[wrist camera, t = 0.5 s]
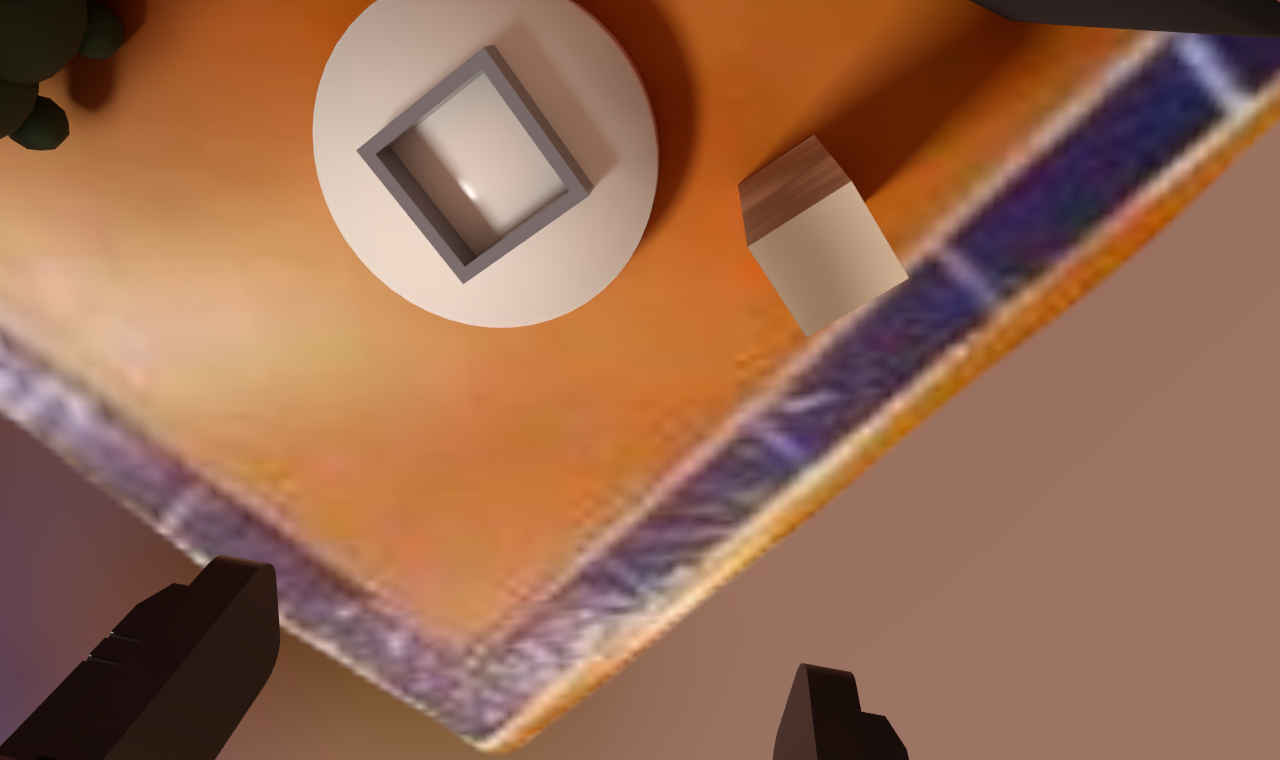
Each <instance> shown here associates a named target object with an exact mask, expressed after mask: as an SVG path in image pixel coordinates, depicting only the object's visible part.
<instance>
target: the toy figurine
mask: <svg viewBox="0 0 1280 760" xmlns="http://www.w3.org/2000/svg"><path fill="white" fill-rule="evenodd" d="M123 44H124V36H123V24H122V23H121V22H120V21H119V20H118V18H117V17H116V16H115V15H114V14H113V13H112V12H111V11H110V10H109V9H108V8H107V7H106V6H104V5H102V4H100V3H98V2H96V1H94V0H0V139H1V138H3V137H5V136H7V135H9V137H10V139H12V140H14V141H15V142H17V143H19V144H20V145H22V146H23V147H25V148H27V149H32V150H52V149H56V148H57V147H58V146H59V145H60V144H61V143H62V142H63V141H64V140H65V139H66V138H67V136H68V135H69V122H68V119H67V117H66V114H65V111H64V110H63V109H62V108H60V107H59V106H58V105H57V104H56V103H55V102H53V101H52V100H51V99H50V98H46V97H43V96H39V95H38V92H39V82H41V81H43V80H46V79H48V78H50V77H52V76H54V75H55V74H56V73H57V72H58V71H59V70H60V69H61V68H62V67H64V66H65V65H66V64H67V63H68V62H69V61H70V60H71V59H72V58H74V57H75V56H76V55H77V54H78V52H79V53H80V54H82V55H83V56H85V57H86V58H88V59H108V58H109V57H110V56H111V55H112V54H113V53H114V52H115V51H117V50H118V49H119V48H120V47H121V46H122V45H123Z"/></svg>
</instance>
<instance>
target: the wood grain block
mask: <svg viewBox="0 0 1280 760" xmlns="http://www.w3.org/2000/svg"><path fill="white" fill-rule="evenodd" d="M738 188H739V194H740V201H741V207H742V213H743V220H744V226H745V233H746V239H747V246H748V248H749V250H750V251H751V253H752V254H753V256H754V257H755V259H756V260H757V262H758V263H759V265H760V266H761V268H762V270H763V271H764V273H765V274H766V276H767V277H768V279H769V280H770V282H771V283H772V285H773V286H774V288H775V289H776V291H777V292H778V294H779V296H780V297H781V299H782V300H783V302H784V303H785V305H786V306H787V308H788V309H789V311H790V312H791V314H792V315H793V317H794V318H795V320H796V322H797V323H798V325H799V326H800V328H801V329H802V331H803V332H804V334H805V335H806V337H808V336H810V335H811V334H813V333H815V332H817V331H818V330H820V329H822V328H824V327H825V326H827V325H829V324H830V323H832V322H834V321H836V320H837V319H839V318H841V317H843V316H844V315H846V314H848V313H849V312H851V311H853V310H855V309H856V308H858V307H860V306H862V305H863V304H865V303H867V302H868V301H870V300H872V299H874V298H875V297H877V296H879V295H881V294H882V293H884V292H886V291H887V290H889V289H891V288H893V287H894V286H896V285H898V284H900V283H901V282H903V281H905V280H906V279H908V276H907V274H906V273H905V271H904V269H903V268H902V266H901V264H900V262H899V261H898V259H897V257H896V256H895V254H894V252H893V251H892V249H891V247H890V245H889V244H888V242H887V240H886V239H885V237H884V235H883V234H882V232H881V230H880V228H879V227H878V225H877V223H876V222H875V220H874V218H873V216H872V215H871V213H870V211H869V210H868V208H867V206H866V205H865V203H864V201H863V199H862V198H861V196H860V194H859V193H858V191H857V189H856V188H855V186H854V184H853V182H852V181H851V180H850V178H849V177H848V176H847V175H846V173H845V172H844V171H843V170H842V168H841V167H840V166H839V165H838V163H837V162H836V161H835V160H834V158H833V157H832V156H831V155H830V153H829V152H828V151H827V150H826V148H825V147H824V146H823V145H822V144H821V142H820V141H819V140H818V139H817V137H816V136H815V135H813V136H811V137H810V138H808V139H807V140H805V141H804V142H802V143H801V144H799V145H798V146H796V147H795V148H793V149H792V150H790V151H789V152H787V153H786V154H784V155H782V156H781V157H779V158H778V159H776V160H775V161H773V162H772V163H770V164H769V165H767V166H766V167H764V168H763V169H761V170H760V171H758V172H757V173H755V174H754V175H752V176H751V177H749V178H748V179H746V180H745V181H743V182H742V183H740V184H739V185H738Z"/></svg>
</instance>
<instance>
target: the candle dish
mask: <svg viewBox="0 0 1280 760" xmlns="http://www.w3.org/2000/svg"><path fill="white" fill-rule="evenodd" d="M313 147H314V158H315V163H316V169H317V174H318V179H319V182H320V185H321V188H322V192H323V195H324V198H325V201H326V203H327V205H328V208H329V210H330V212H331V214H332V217H333V219H334V221H335V223H336V224H337V226H338V228H339V230H340V231H341V233H342V235H343V236H344V238H345V240H346V241H347V243H348V244H349V245H350V247H351V248H352V249H353V251H354V252H355V253H356V255H357V256H358V257H359V259H360V260H361V261H362V262H363V263H364V264H365V265H366V266H367V267H368V268H369V269H370V270H371V272H372V273H373V274H374V275H375V276H376V277H378V278H379V279H380V280H381V281H382V282H383V283H385V284H386V285H387V286H388V287H389V288H391V289H392V290H393V291H395V292H396V293H398V294H399V295H401V296H402V297H403V298H405V299H406V300H408V301H409V302H411V303H413V304H415V305H417V306H419V307H421V308H423V309H425V310H426V311H428V312H431V313H433V314H436V315H439V316H441V317H444V318H446V319H449V320H453V321H457V322H461V323H465V324H468V325H476V326H483V327H507V328H510V327H519V326H527V325H533V324H537V323H541V322H545V321H549V320H552V319H554V318H557V317H559V316H562V315H564V314H567V313H569V312H571V311H573V310H574V309H576V308H578V307H580V306H581V305H583V304H585V303H587V302H588V301H589V300H591V299H592V298H593V297H595V296H596V295H597V294H599V293H600V292H601V291H603V290H604V289H605V288H606V287H607V286H608V285H609V284H610V283H611V282H612V281H613V280H614V279H615V278H616V277H617V275H618V274H619V273H620V271H621V270H622V269H623V268H624V266H625V265H626V264H627V262H628V261H629V260H630V258H631V256H632V254H633V253H634V251H635V249H636V247H637V246H638V244H639V242H640V240H641V238H642V235H643V233H644V230H645V228H646V225H647V223H648V220H649V216H650V213H651V209H652V206H653V202H654V198H655V194H656V190H657V184H658V175H659V167H660V159H659V138H658V131H657V123H656V119H655V115H654V111H653V107H652V104H651V100H650V97H649V95H648V92H647V90H646V87H645V85H644V82H643V80H642V78H641V76H640V74H639V72H638V70H637V69H636V67H635V65H634V63H633V61H632V60H631V58H630V56H629V55H628V53H627V52H626V51H625V49H624V48H623V47H622V45H621V44H620V43H619V41H618V40H617V39H616V37H615V36H614V35H613V34H612V33H611V32H610V31H609V30H608V29H607V28H606V27H605V26H604V25H603V24H602V23H601V22H600V21H599V20H598V19H597V18H596V17H595V16H594V15H592V14H591V13H590V12H589V11H587V10H586V9H585V8H584V7H582V6H581V5H580V4H578V3H577V2H575V1H573V0H377V1H376V2H374V3H373V4H372V5H370V6H369V7H368V8H366V9H365V10H364V11H363V12H362V14H361V15H360V16H359V17H358V18H357V19H356V20H355V21H354V22H353V23H352V24H351V25H350V26H349V27H348V29H347V30H346V32H345V33H344V34H343V36H342V37H341V39H340V40H339V41H338V43H337V44H336V46H335V48H334V50H333V52H332V54H331V56H330V58H329V60H328V62H327V64H326V66H325V69H324V72H323V75H322V78H321V81H320V84H319V87H318V92H317V97H316V102H315V107H314V118H313Z"/></svg>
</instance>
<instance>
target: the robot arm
mask: <svg viewBox="0 0 1280 760" xmlns="http://www.w3.org/2000/svg"><path fill="white" fill-rule="evenodd" d="M279 646H280V627H279V613H278V598H277V583H276V572H275V569H274V567H273V565H271V564H268V563H263V562H258V561H252V560H247V559H241V558H236V557H230V556H225V555H220V556H218V557H216V558H214V559H213V560H212V561H211V562H210V563H209V564H208V565H207V566H206V567H205V568H204V569H203V571H202V572H201V573H200V574H199V575H198V576H197V577H196V578H195V579H194V581H193V582H192V583H191V584H190V585H189V586H187V585H181V584H176V583H173V584H171V585H170V586H168V587H166V588H165V589H163V590H161V591H159V592H158V593H156V594H154V595H153V596H151V597H149V598H147V599H146V600H144V601H142V602H140V603H139V604H137V605H136V606H135V607H134V608H133V609H132V610H131V611H130V612H129V613H128V614H127V616H126V617H125V618H124V619H123V620H122V621H121V622H120V623H119V624H118V625H117V626H116V627H115V628H114V629H113V630H112V631H111V633H110V636H109V638H104V639H103V640H102V641H101V642H100V644H99V645H98V646H97V647H96V648H95V649H94V650H93V651H92V652H91V653H90V654H89V656H88V659H87V661H82V662H81V663H80V664H79V665H78V666H77V667H76V668H75V669H74V670H73V672H72V673H71V674H70V675H69V676H68V677H67V678H66V679H65V680H64V681H63V682H62V683H61V684H60V685H59V686H58V687H57V688H56V689H55V690H54V691H53V692H52V693H51V694H50V695H49V696H48V698H47V699H46V700H45V701H44V702H43V703H42V704H41V705H40V706H39V707H38V708H37V709H36V710H35V711H34V712H33V713H32V714H31V715H30V716H29V717H28V718H27V719H26V720H25V721H24V723H22V724H21V726H19V728H18V729H17V730H16V731H15V732H14V733H13V734H12V735H11V736H10V737H9V738H8V739H7V740H6V741H5V742H4V743H3V744H2V745H1V746H0V760H215V759H216V757H217V756H218V754H219V753H220V751H221V749H222V748H223V747H224V745H225V744H226V742H227V741H228V739H229V738H230V736H231V735H232V733H233V732H234V730H235V729H236V727H237V726H238V724H239V723H240V721H241V719H242V718H243V717H244V715H245V714H246V712H247V711H248V709H249V708H250V706H251V705H252V703H253V702H254V700H255V699H256V697H257V696H258V694H259V693H260V691H261V690H262V688H263V687H264V685H265V684H266V682H267V681H268V679H269V677H270V675H271V673H272V670H273V668H274V665H275V663H276V660H277V656H278V652H279ZM773 760H909V758H908V753H907V750H906V748H905V746H904V744H903V743H902V741H901V740H900V738H899V737H898V735H897V734H896V732H895V731H894V729H893V728H892V726H891V724H890V723H889V721H888V720H887V718H886V717H885V716H882V715H876V714H871V713H865V712H861V707H860V702H859V697H858V691H857V686H856V681H855V678H854V675H853V674H852V673H851V672H848V671H842V670H837V669H831V668H826V667H821V666H815V665H810V664H804V663H802V664H800V666H799V668H798V670H797V673H796V676H795V679H794V682H793V685H792V688H791V692H790V695H789V697H788V701H787V704H786V707H785V710H784V713H783V716H782V719H781V723H780V726H779V729H778V732H777V736H776V741H775V747H774V754H773Z"/></svg>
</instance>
